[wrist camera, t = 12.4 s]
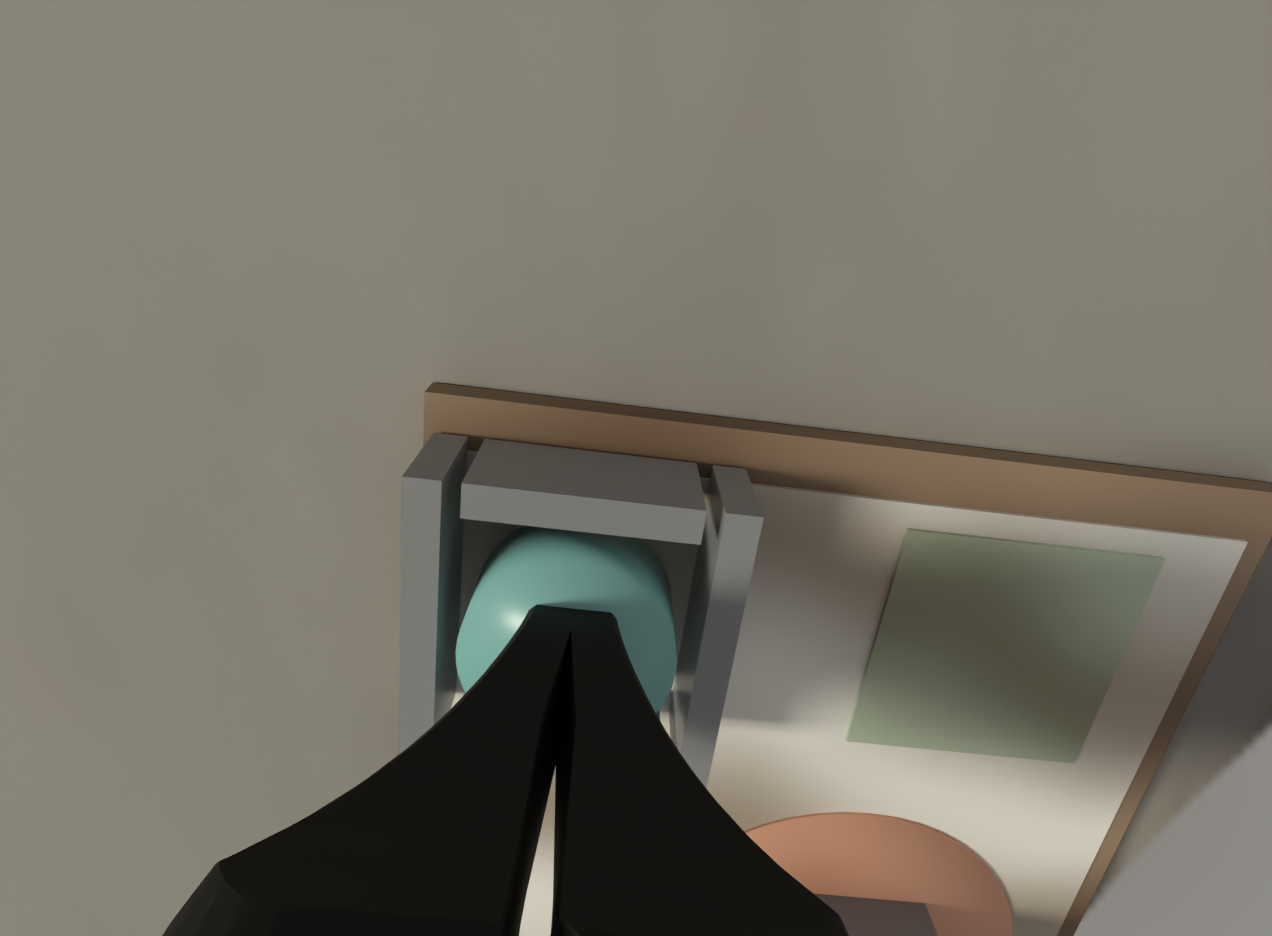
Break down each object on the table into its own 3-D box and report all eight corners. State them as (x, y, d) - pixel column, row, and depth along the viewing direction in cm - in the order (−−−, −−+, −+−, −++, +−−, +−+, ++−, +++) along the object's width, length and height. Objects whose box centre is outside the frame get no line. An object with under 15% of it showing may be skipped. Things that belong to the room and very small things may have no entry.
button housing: (696, 715, 16) (706, 790, 14) (426, 689, 15) (398, 761, 14) (746, 469, 14) (763, 517, 12) (433, 432, 13) (401, 476, 11)
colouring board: (967, 1107, 22) (978, 1139, 21) (414, 1067, 21) (407, 1100, 20) (1267, 481, 15) (1301, 499, 14) (433, 382, 14) (421, 394, 13)
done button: (657, 691, 15) (660, 758, 13) (472, 672, 15) (452, 738, 13) (685, 527, 13) (692, 579, 12) (481, 504, 13) (460, 554, 12)
